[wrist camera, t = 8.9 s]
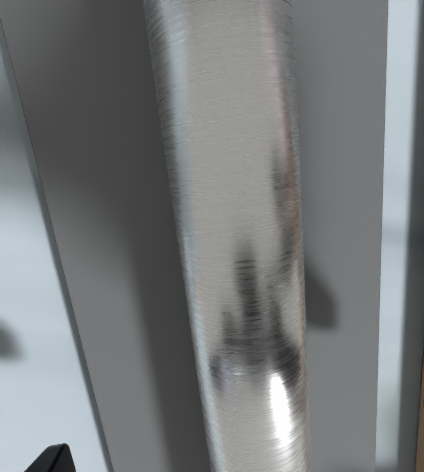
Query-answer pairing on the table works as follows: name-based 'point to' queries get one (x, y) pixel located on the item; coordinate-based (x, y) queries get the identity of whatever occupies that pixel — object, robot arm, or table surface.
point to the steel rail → (238, 220)
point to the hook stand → (420, 431)
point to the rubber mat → (164, 230)
